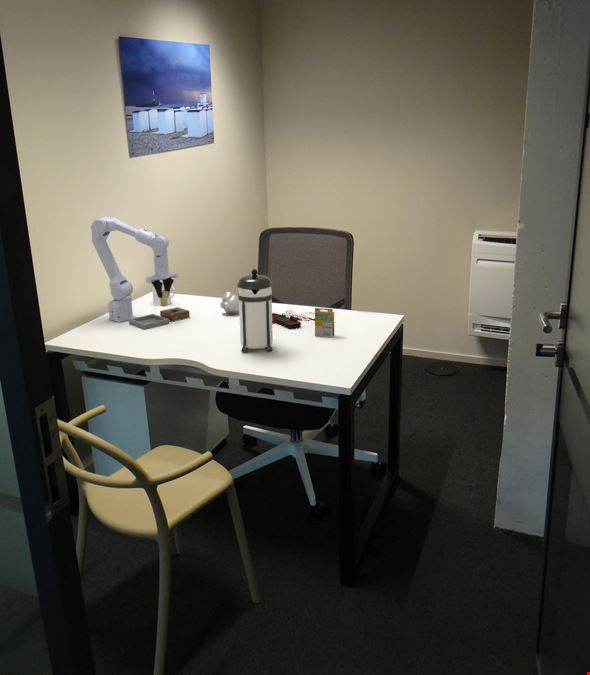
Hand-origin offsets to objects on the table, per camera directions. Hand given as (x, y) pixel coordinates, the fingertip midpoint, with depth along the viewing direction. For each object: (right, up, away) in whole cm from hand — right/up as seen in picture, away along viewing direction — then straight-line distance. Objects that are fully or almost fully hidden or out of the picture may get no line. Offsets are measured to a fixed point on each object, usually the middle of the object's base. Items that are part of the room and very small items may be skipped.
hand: (163, 296), depth 287 cm
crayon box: (+68, -17, -21) cm, 73 cm away
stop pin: (0, -4, +1) cm, 4 cm away
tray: (-6, -12, -2) cm, 13 cm away
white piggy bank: (+28, -7, +11) cm, 31 cm away
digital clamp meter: (+57, -11, 0) cm, 58 cm away
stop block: (+4, -9, +6) cm, 11 cm away
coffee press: (+41, -21, -33) cm, 57 cm away
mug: (-5, -2, +29) cm, 29 cm away
